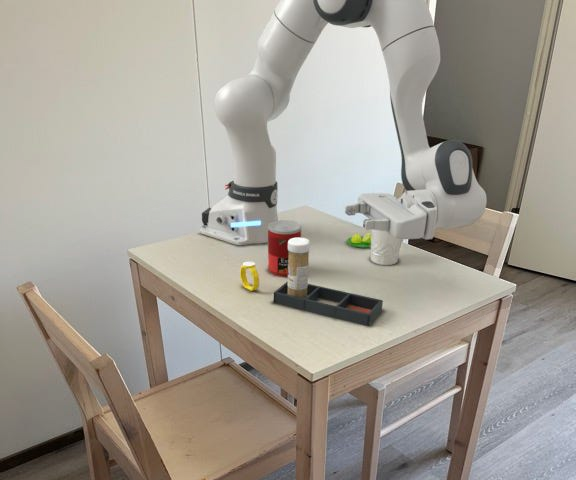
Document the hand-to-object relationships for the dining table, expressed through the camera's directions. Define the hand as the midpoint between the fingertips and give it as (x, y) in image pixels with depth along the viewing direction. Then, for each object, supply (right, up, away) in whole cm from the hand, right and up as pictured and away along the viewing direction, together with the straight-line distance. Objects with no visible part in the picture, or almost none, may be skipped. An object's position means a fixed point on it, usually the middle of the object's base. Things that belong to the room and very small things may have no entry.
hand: (355, 217), depth 124 cm
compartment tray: (-6, -18, +4) cm, 19 cm away
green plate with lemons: (+6, +3, +36) cm, 36 cm away
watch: (-23, -13, +11) cm, 28 cm away
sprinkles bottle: (-12, -16, +6) cm, 21 cm away
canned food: (-15, -7, +20) cm, 26 cm away
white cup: (+10, -4, +26) cm, 28 cm away
